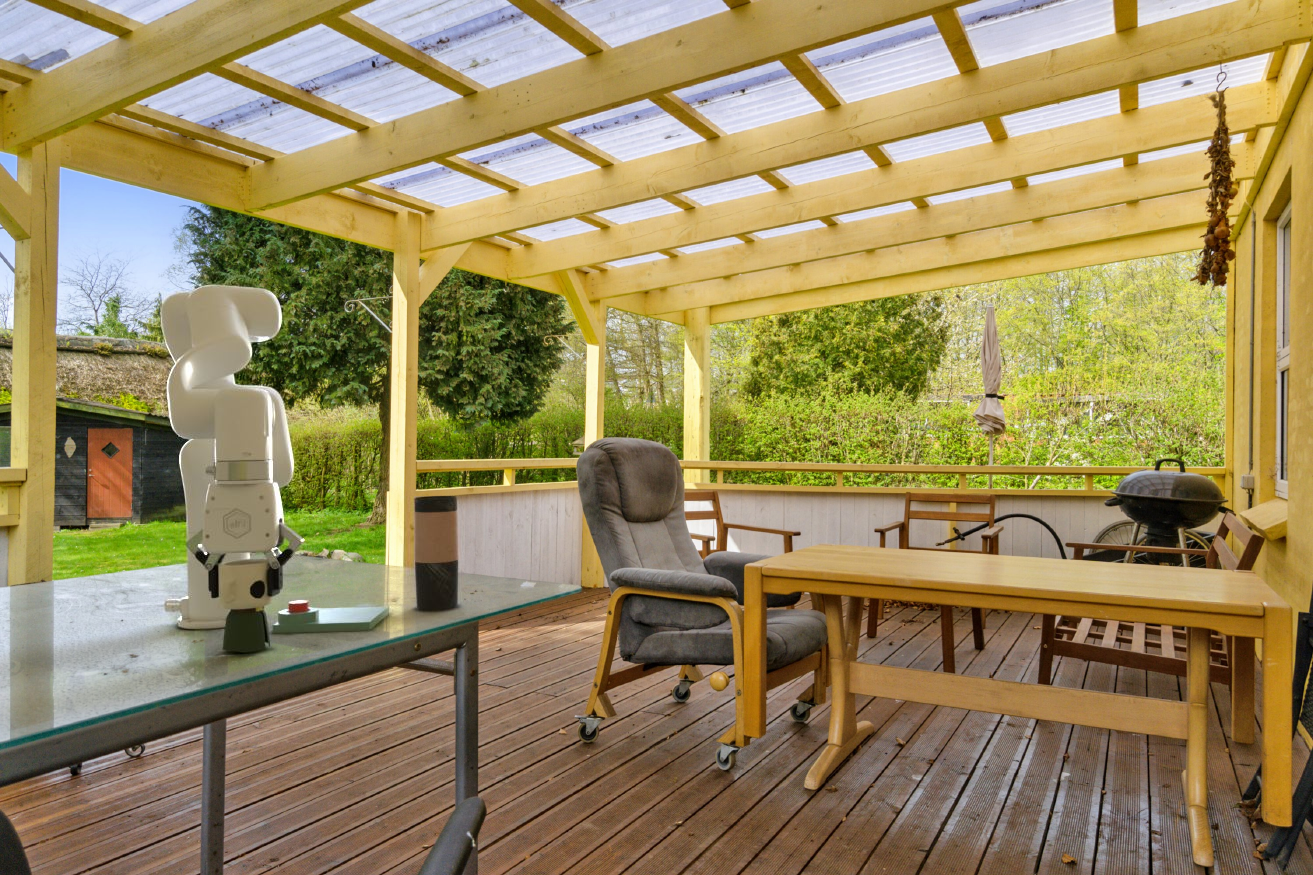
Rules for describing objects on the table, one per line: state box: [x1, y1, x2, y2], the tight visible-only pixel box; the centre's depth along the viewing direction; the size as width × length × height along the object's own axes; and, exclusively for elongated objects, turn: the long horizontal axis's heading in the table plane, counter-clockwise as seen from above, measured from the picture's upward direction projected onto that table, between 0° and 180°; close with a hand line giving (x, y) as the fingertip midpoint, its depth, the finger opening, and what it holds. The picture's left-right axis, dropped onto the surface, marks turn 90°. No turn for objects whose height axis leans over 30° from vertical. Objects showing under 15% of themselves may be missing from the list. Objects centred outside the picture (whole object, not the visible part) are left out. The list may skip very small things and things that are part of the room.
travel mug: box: [413, 495, 459, 612], centre depth 155 cm, size 8×8×20 cm
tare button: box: [288, 599, 310, 613], centre depth 139 cm, size 3×3×2 cm
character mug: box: [218, 558, 274, 655], centre depth 124 cm, size 11×7×13 cm, turn 175°
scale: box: [272, 605, 390, 634], centre depth 143 cm, size 15×13×3 cm
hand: (246, 594), depth 124 cm, fingers closed on character mug, 7 cm apart
